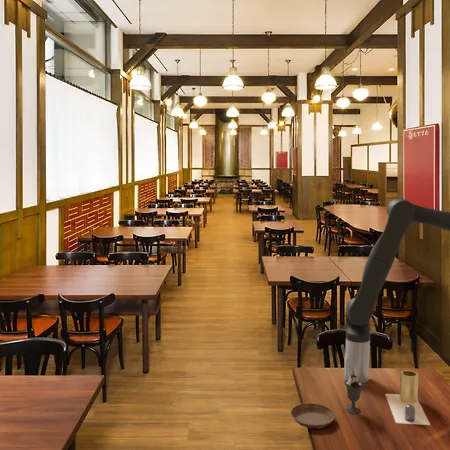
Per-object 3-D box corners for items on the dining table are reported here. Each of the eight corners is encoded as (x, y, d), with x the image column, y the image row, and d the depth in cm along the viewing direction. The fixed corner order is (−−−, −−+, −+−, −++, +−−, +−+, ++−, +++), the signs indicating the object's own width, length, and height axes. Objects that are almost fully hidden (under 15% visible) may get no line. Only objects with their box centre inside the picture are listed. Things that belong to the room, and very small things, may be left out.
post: (405, 421, 178) (406, 407, 177) (403, 416, 181) (404, 402, 181) (415, 422, 178) (416, 407, 177) (413, 417, 181) (414, 403, 180)
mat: (395, 425, 177) (395, 422, 177) (385, 396, 199) (385, 393, 199) (430, 427, 176) (430, 425, 176) (415, 397, 197) (415, 395, 197)
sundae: (349, 404, 192) (351, 364, 191) (366, 410, 188) (367, 369, 186) (339, 410, 188) (340, 369, 186) (356, 417, 183) (357, 375, 181)
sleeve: (409, 405, 190) (410, 378, 188) (395, 398, 195) (397, 372, 193) (420, 400, 193) (421, 374, 192) (406, 394, 198) (408, 368, 197)
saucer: (326, 436, 171) (326, 428, 171) (283, 425, 178) (283, 417, 178) (340, 416, 184) (340, 409, 184) (299, 407, 191) (300, 399, 191)
